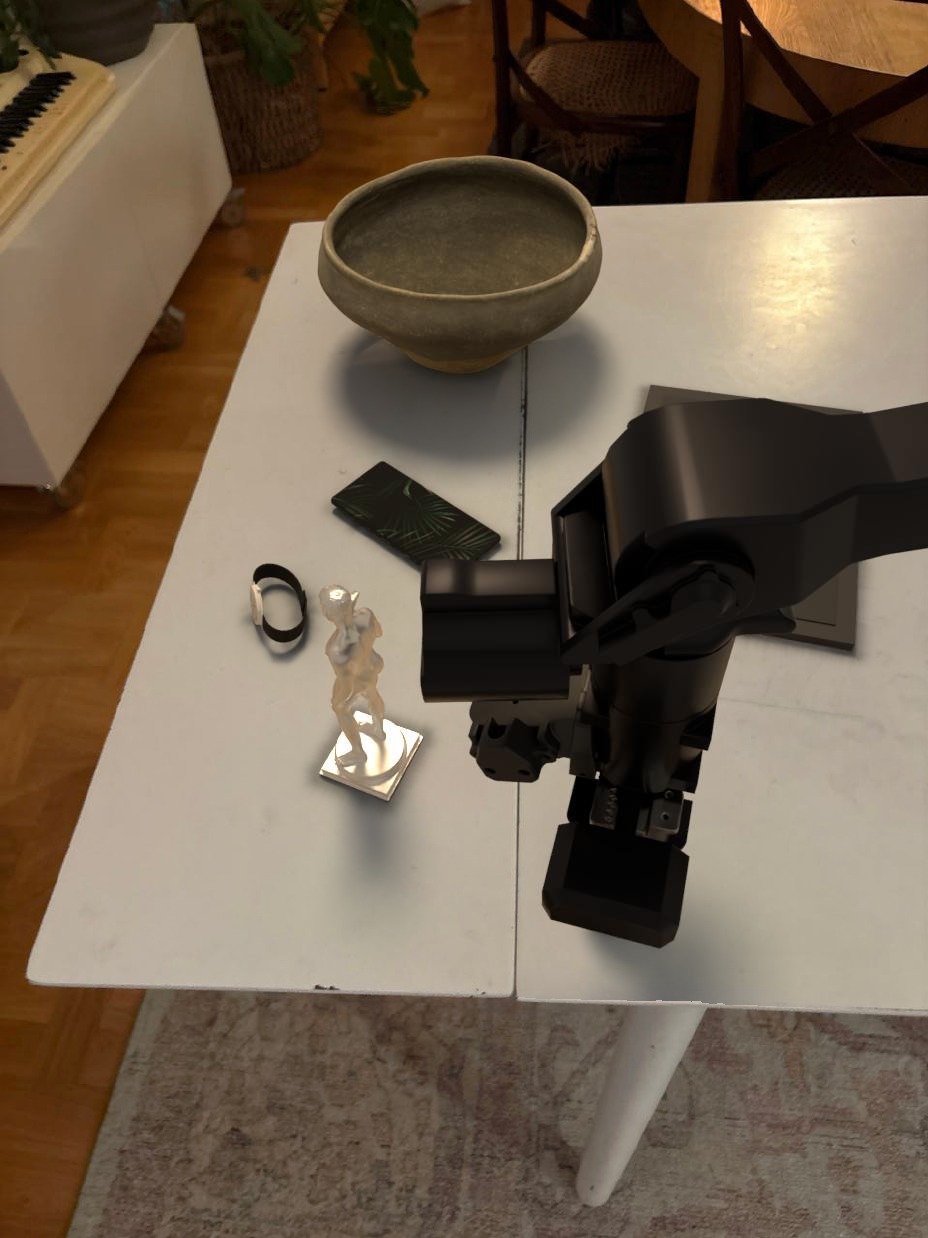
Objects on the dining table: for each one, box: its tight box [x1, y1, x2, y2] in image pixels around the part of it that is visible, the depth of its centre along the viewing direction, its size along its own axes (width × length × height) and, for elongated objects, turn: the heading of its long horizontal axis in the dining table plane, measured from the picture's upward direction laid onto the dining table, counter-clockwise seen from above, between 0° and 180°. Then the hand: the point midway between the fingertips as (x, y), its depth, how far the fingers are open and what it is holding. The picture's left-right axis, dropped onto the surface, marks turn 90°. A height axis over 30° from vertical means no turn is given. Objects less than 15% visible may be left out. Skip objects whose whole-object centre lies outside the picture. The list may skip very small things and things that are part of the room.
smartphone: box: [330, 460, 502, 566], centre depth 81 cm, size 7×1×15 cm
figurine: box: [318, 584, 424, 802], centre depth 60 cm, size 8×7×18 cm
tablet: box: [642, 384, 864, 652], centre depth 80 cm, size 28×20×1 cm
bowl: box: [317, 155, 603, 374], centre depth 92 cm, size 28×28×14 cm
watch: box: [249, 562, 308, 644], centre depth 74 cm, size 8×5×4 cm, turn 20°
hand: (627, 821), depth 53 cm, fingers closed
